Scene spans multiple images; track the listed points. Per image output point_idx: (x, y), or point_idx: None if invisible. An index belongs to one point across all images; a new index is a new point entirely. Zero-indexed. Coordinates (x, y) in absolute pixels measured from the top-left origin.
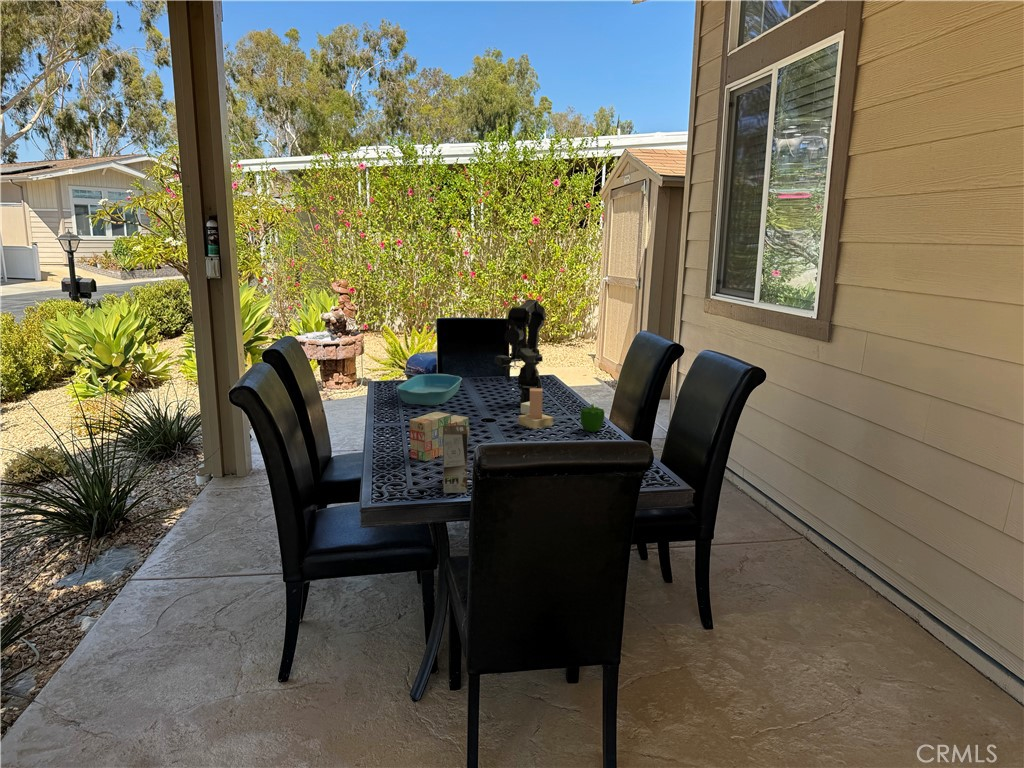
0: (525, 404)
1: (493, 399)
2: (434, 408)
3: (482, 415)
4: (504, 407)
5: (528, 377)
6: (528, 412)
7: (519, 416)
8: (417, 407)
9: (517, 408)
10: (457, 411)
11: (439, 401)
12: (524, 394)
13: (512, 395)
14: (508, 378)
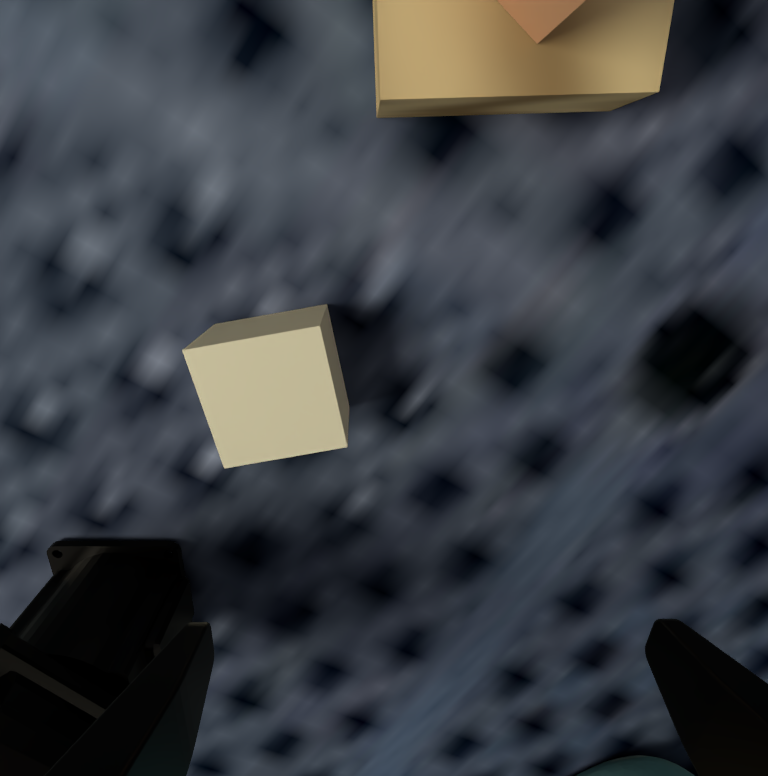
0: (333, 393)
1: (297, 739)
2: None
3: (623, 487)
4: (355, 579)
5: (193, 674)
6: (329, 330)
7: (660, 70)
8: None
9: (289, 521)
10: None
11: (659, 770)
12: (156, 640)
13: None
14: (761, 684)
